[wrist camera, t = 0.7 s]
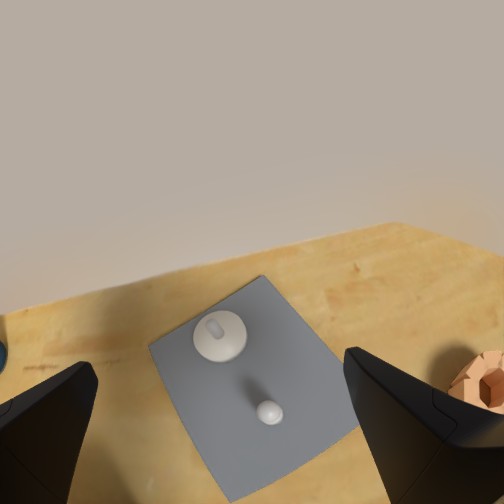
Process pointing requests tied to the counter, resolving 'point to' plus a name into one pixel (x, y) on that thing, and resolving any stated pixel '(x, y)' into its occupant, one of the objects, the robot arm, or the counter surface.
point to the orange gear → (491, 372)
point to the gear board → (254, 388)
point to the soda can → (2, 357)
